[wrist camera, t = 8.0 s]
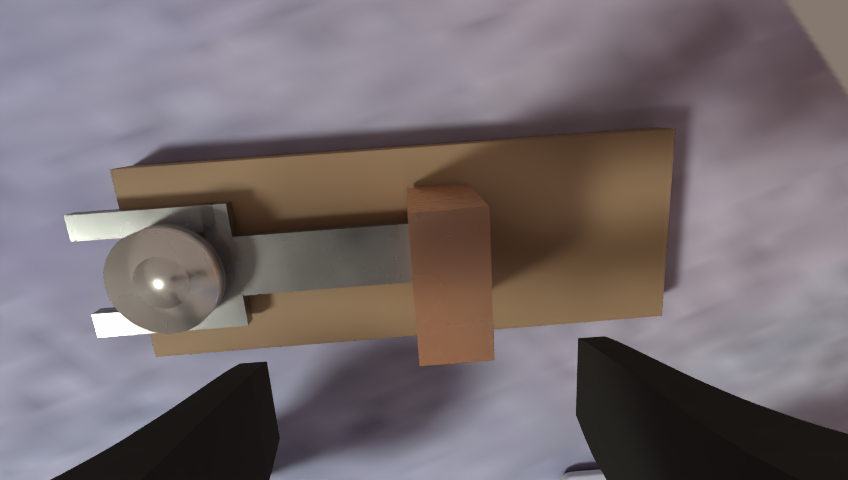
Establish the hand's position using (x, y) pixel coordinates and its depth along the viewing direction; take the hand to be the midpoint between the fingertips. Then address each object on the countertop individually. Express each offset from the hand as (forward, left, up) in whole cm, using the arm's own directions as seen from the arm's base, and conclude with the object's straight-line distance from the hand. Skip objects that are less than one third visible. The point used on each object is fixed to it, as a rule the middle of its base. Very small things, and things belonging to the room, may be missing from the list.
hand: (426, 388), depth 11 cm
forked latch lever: (+1, +5, -9) cm, 10 cm away
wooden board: (+1, 0, -10) cm, 10 cm away
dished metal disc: (+1, +9, -9) cm, 13 cm away
